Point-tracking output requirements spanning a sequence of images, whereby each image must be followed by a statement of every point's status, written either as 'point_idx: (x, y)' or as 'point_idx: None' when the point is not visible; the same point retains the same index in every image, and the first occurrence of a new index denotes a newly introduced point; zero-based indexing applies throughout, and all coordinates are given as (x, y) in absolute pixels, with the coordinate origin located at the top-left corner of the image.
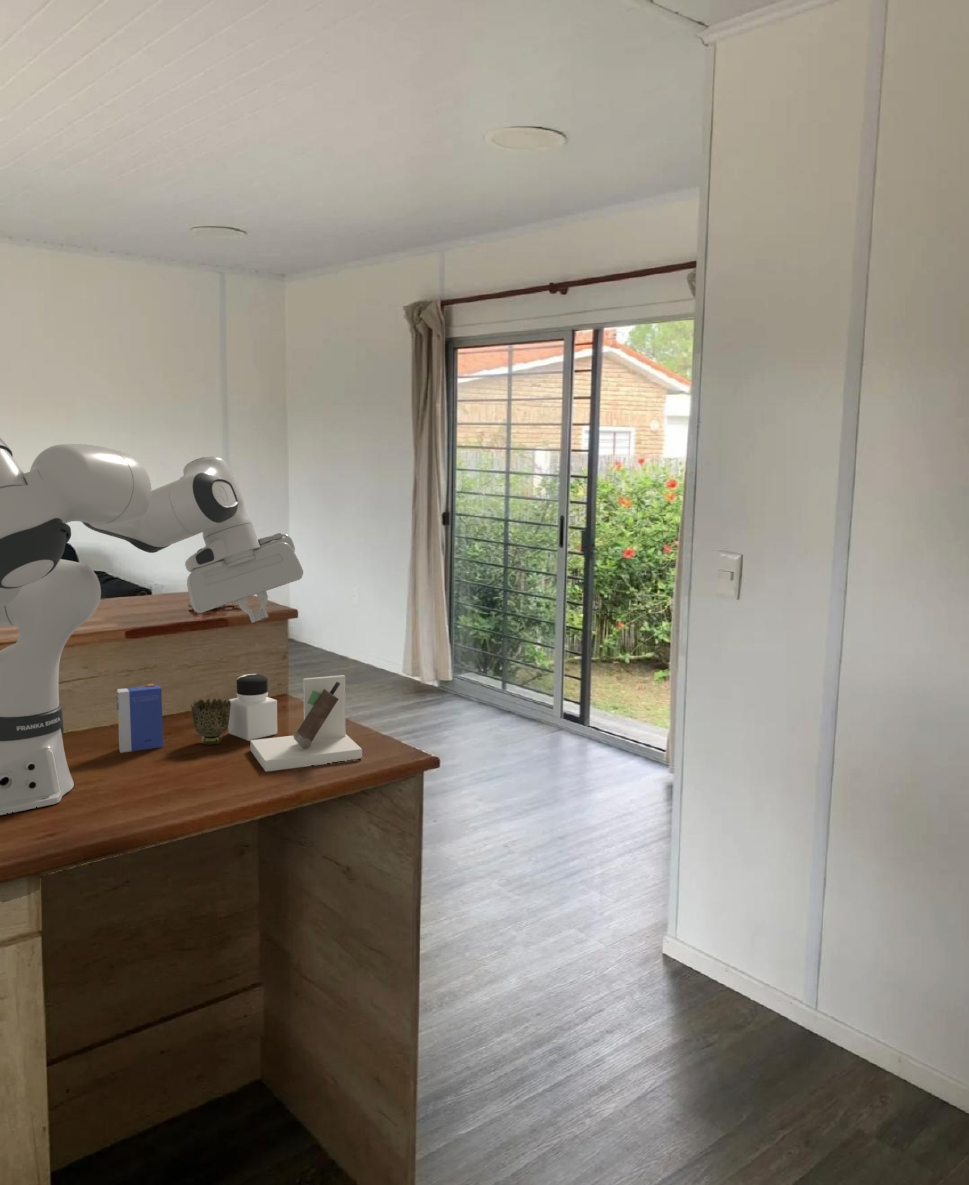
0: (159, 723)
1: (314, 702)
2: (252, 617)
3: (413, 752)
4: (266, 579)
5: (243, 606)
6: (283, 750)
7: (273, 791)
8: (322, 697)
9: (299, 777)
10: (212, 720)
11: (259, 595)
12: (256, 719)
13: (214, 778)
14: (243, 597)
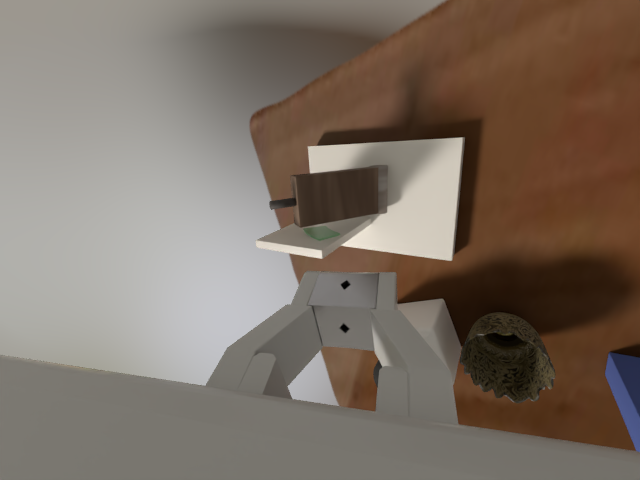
0: (634, 387)
1: (328, 232)
2: (390, 283)
3: (258, 152)
4: (84, 471)
5: (428, 357)
6: (415, 184)
7: (487, 15)
8: (312, 208)
9: (419, 88)
10: (513, 323)
11: (267, 380)
12: (420, 315)
13: (578, 129)
14: (406, 416)
